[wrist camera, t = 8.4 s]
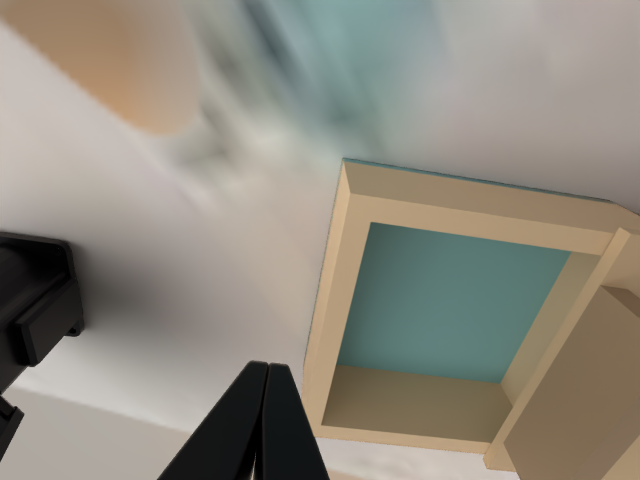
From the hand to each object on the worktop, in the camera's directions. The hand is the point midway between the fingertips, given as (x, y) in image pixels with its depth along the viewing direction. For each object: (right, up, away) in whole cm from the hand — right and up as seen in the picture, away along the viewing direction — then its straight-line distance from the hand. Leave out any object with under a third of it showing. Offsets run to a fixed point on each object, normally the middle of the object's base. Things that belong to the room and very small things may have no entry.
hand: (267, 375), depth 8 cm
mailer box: (+8, 0, +14) cm, 16 cm away
